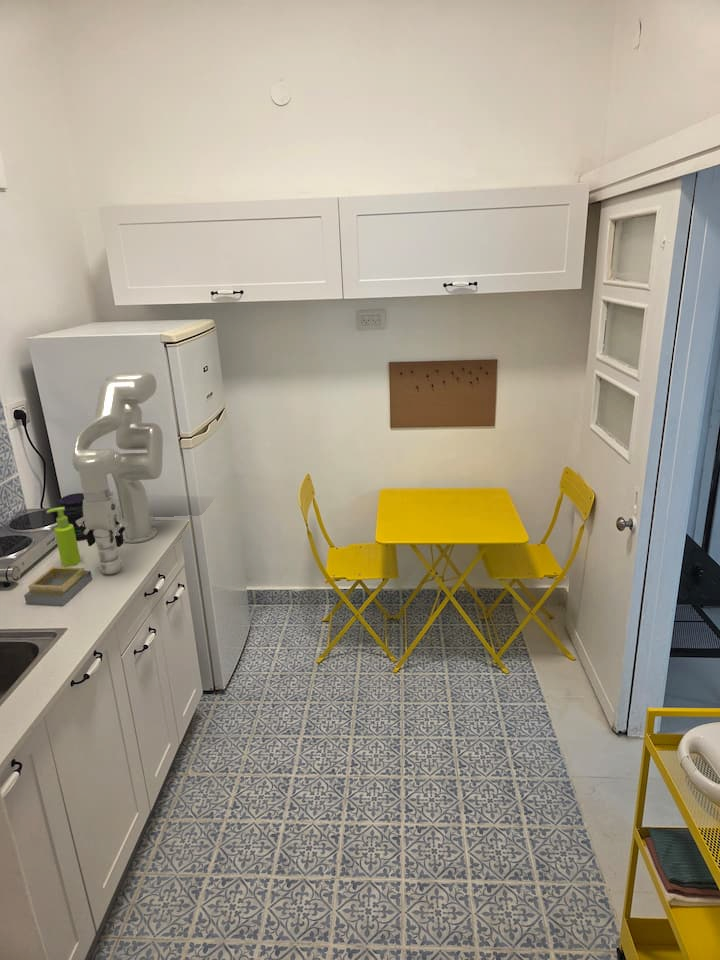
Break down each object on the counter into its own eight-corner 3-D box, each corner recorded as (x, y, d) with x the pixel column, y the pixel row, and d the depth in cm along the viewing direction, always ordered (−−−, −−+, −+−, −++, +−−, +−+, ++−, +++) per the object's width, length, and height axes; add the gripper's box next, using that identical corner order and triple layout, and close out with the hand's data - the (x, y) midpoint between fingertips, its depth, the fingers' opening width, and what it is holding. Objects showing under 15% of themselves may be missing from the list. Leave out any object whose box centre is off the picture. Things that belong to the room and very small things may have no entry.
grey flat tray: (57, 577, 202) (54, 563, 200) (92, 579, 200) (89, 565, 198) (26, 604, 187) (22, 589, 185) (63, 605, 185) (59, 591, 183)
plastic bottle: (115, 577, 200) (104, 520, 193) (96, 576, 202) (85, 519, 195) (126, 568, 206) (116, 512, 199) (108, 566, 208) (97, 511, 201)
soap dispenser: (58, 561, 212) (46, 507, 205) (80, 557, 215) (69, 503, 208) (58, 568, 207) (45, 513, 200) (80, 564, 210) (69, 509, 203)
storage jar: (101, 530, 235) (94, 493, 230) (85, 542, 226) (77, 503, 221) (78, 528, 237) (71, 492, 232) (61, 540, 228) (53, 502, 223)
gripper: (128, 491, 197) (137, 540, 202) (77, 490, 199) (87, 539, 205) (116, 500, 190) (125, 550, 195) (64, 498, 192) (74, 549, 198)
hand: (106, 544), depth 200 cm, fingers open, 9 cm apart
